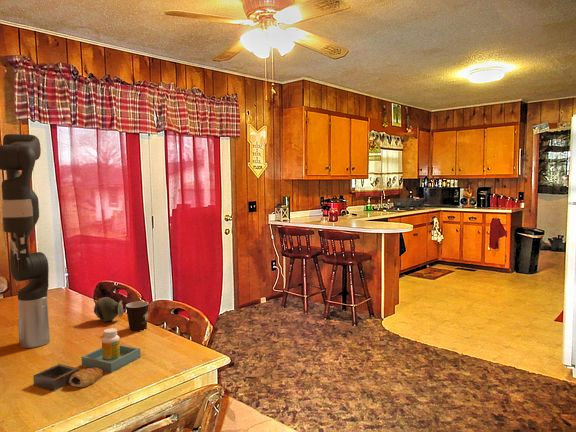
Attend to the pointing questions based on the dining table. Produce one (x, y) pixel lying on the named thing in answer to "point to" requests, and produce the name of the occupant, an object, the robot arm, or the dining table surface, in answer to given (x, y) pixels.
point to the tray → (125, 358)
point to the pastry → (85, 377)
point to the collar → (47, 377)
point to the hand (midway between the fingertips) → (21, 270)
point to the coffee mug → (137, 315)
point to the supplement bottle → (110, 345)
